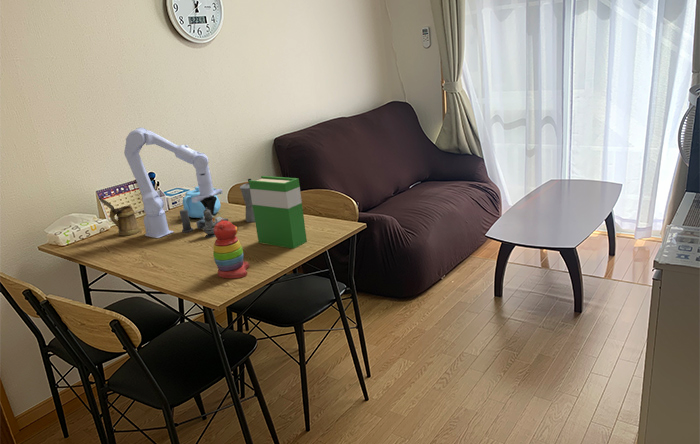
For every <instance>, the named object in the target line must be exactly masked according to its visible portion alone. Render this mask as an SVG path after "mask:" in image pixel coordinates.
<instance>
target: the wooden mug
mask: <svg viewBox="0 0 700 444" xmlns="http://www.w3.org/2000/svg"><path fill="white" fill-rule="evenodd" d="M99 202H101V203H102V204H103V205H104V206H106V207H107V208H109V209H110V211H109V218H110V220H111V221H112V223H113V224H114V225H115V226H116V227H117V229H118V232H117V233H118V236H121V237H128V236H132V235H136V234H138V233H140V232H141V231H142V229H141V227H140V226H139V223H138V221H137V218H136V215H135V214H136V213H135V210H134V209H133V207H132V205H125V206H121V207H118V208H116V207H114V206H113V205H112V204H111V203H110V202H108V201H107V200H105V199H104V198H102V197H99ZM115 216H116V217H117V219H116V218H115Z"/></svg>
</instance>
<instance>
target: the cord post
mask: <svg viewBox="0 0 700 444" xmlns="http://www.w3.org/2000/svg"><path fill="white" fill-rule="evenodd" d="M179 214H180V215H179V216H180V220H181V224H182V230H181V232H182V233H183V234H187V233H188V234H189V233H191V232H193V231H194V228H193V227H192V226H191V221H190V217H189V215H188V210H184V209H181V210H179Z"/></svg>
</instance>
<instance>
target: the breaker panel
mask: <svg viewBox="0 0 700 444" xmlns="http://www.w3.org/2000/svg"><path fill="white" fill-rule="evenodd" d="M203 217H204V216H203ZM212 217H213V223H214V225H216V224H217V223H218V222H220V221H221V220H222V219H223V220H224V221H229V218H227V217H226V218H225V217H222V216H215V215H212ZM203 227H205V220H204V219H199V220H198V221H196V228H197V229H198V230H203Z"/></svg>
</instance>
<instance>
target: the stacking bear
mask: <svg viewBox="0 0 700 444" xmlns="http://www.w3.org/2000/svg"><path fill="white" fill-rule="evenodd" d="M238 230H239V228H238V226H236V225H235V224H233V223H232V221H229V220H228V221H224V220H223V219H222V220H221V221H220V222H218V223H217V224H216V225H215V227H214V234H215V236H216V237H215V238H216V240H215V241H214V243H213V260H214V262H215V264H216V267H217V268H218V269H217V276H218V277H220V278H222V279H239V278H243V277H246V276H247V274H248V271H247V269H249V267H250V263H249V262H248V261H244V250H243V247H242V245H241V242H240V240H239V238H238V237H237V236H236V235H237V234H238Z"/></svg>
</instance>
